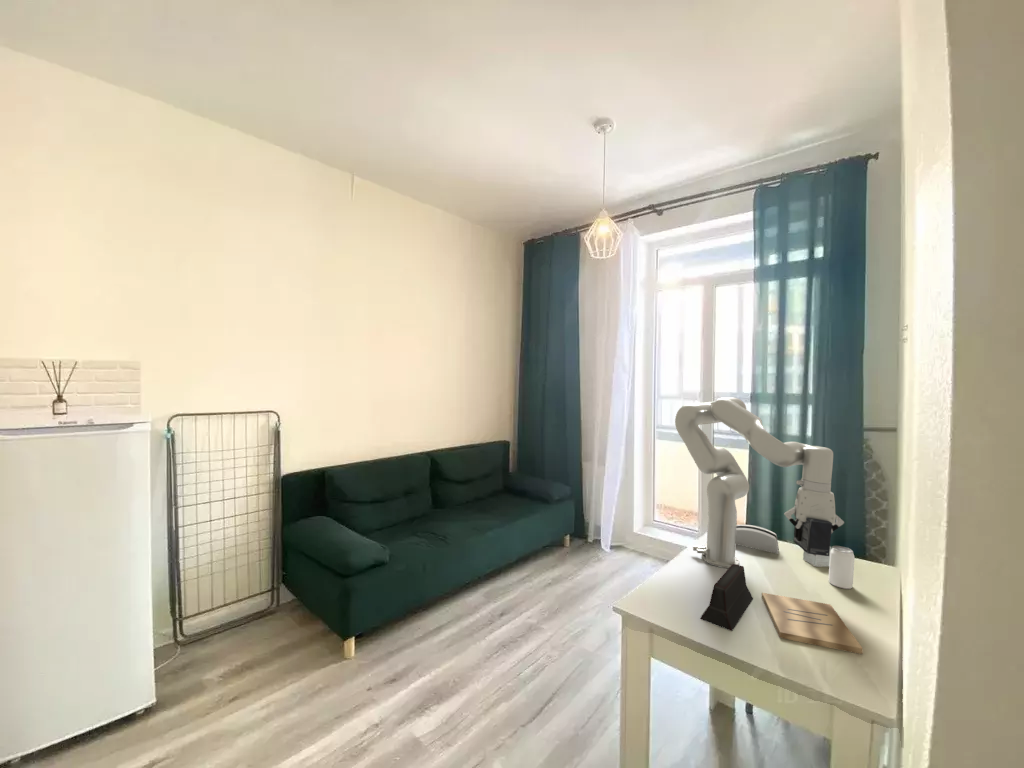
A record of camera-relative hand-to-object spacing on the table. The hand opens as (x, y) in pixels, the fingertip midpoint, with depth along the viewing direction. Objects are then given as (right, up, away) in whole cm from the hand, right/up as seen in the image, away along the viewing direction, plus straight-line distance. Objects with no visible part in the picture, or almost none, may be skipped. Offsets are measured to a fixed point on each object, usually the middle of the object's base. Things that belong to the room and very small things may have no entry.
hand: (811, 541), depth 138 cm
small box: (0, -3, 0) cm, 2 cm away
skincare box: (+19, -17, +24) cm, 35 cm away
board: (-12, -17, -16) cm, 26 cm away
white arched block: (+3, -16, +37) cm, 41 cm away
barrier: (-31, -17, -9) cm, 37 cm away
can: (+15, -17, +8) cm, 24 cm away
